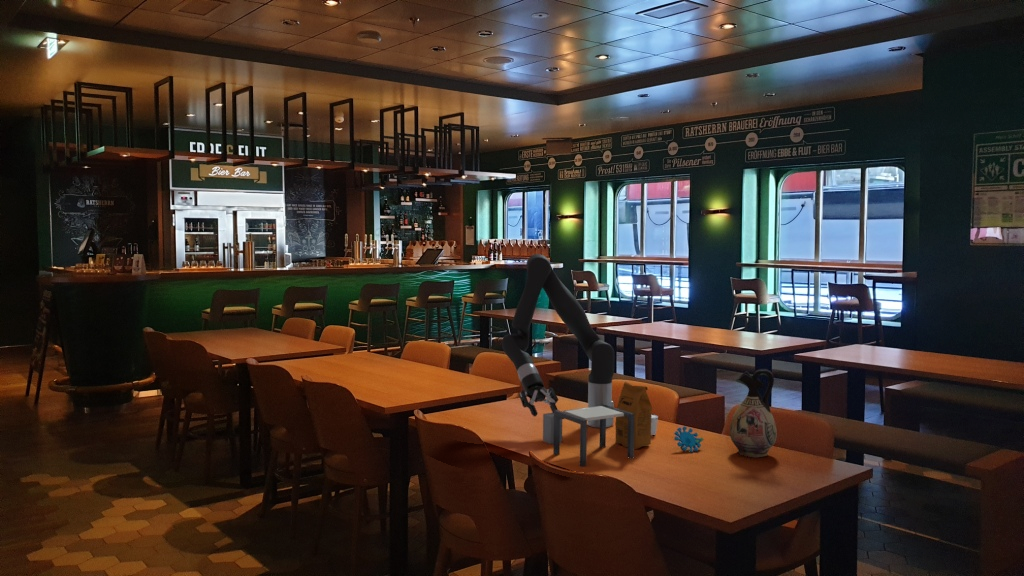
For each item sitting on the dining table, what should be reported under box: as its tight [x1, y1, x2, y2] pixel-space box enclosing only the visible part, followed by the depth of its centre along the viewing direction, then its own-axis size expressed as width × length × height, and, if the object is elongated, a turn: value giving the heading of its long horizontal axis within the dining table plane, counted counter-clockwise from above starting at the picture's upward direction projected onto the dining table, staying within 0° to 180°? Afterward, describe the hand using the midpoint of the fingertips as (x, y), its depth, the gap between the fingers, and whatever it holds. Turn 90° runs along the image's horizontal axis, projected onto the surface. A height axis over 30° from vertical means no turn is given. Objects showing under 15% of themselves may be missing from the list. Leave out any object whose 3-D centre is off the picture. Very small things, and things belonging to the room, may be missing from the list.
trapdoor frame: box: [552, 404, 635, 467], centre depth 260 cm, size 21×17×15 cm
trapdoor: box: [562, 406, 624, 422], centre depth 260 cm, size 16×13×1 cm
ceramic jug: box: [729, 368, 778, 458], centre depth 263 cm, size 17×15×30 cm
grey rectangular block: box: [542, 412, 563, 445], centre depth 278 cm, size 5×5×10 cm
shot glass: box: [651, 413, 659, 436], centre depth 290 cm, size 7×7×7 cm
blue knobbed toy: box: [673, 426, 704, 453], centre depth 270 cm, size 11×6×10 cm
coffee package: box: [614, 381, 653, 450], centre depth 274 cm, size 10×12×22 cm
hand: (545, 414), depth 281 cm, fingers open, 8 cm apart
